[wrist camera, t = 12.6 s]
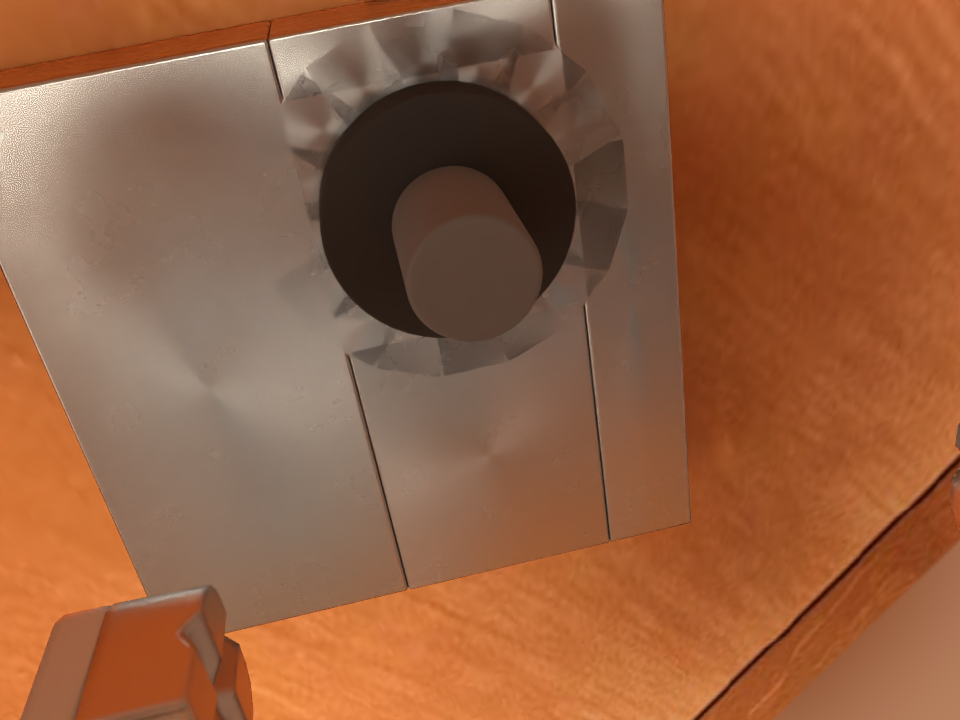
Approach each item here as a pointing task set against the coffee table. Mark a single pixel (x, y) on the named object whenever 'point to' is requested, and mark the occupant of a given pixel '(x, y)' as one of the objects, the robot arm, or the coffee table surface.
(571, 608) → the coffee table surface
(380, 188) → the stopper
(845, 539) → the coffee table surface
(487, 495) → the drain plate
